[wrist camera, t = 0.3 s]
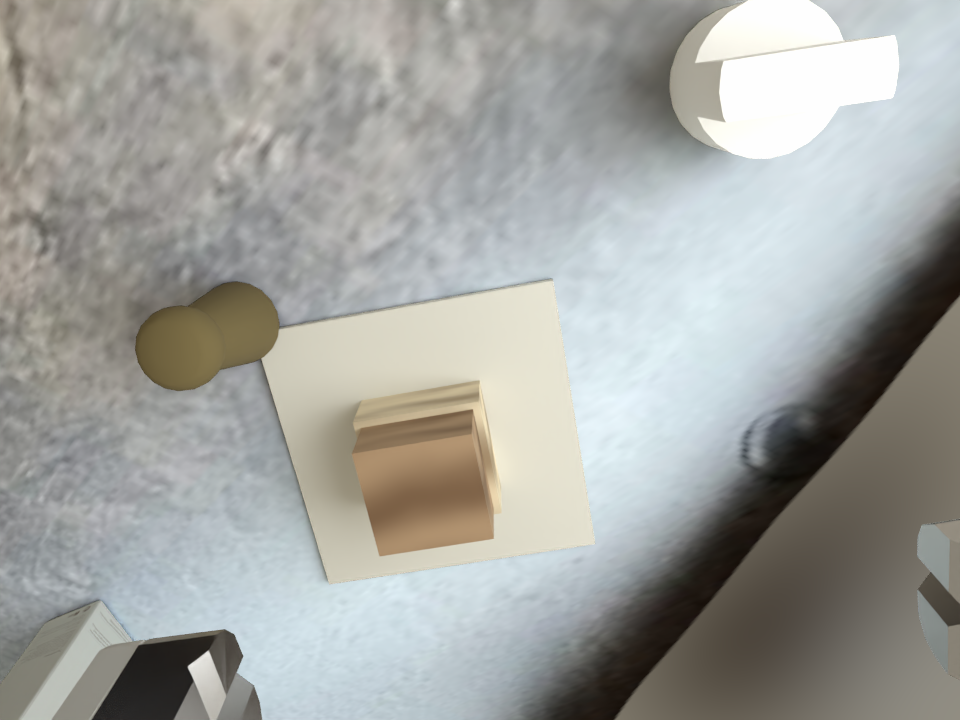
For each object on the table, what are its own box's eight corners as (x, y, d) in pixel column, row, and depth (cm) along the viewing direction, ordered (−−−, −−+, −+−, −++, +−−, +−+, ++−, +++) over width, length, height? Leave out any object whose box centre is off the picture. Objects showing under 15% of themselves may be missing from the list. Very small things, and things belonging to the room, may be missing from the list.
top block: (361, 427, 55) (351, 453, 51) (472, 409, 54) (471, 434, 50) (386, 524, 57) (379, 556, 54) (493, 508, 57) (493, 538, 53)
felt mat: (256, 331, 57) (253, 334, 57) (552, 278, 56) (553, 280, 55) (330, 579, 65) (329, 584, 64) (594, 539, 63) (595, 543, 62)
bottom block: (361, 400, 58) (352, 422, 55) (479, 380, 58) (478, 401, 54) (388, 503, 61) (381, 531, 58) (501, 486, 61) (501, 513, 57)
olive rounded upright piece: (250, 379, 57) (182, 423, 47) (183, 330, 57) (99, 362, 46) (295, 316, 56) (236, 345, 45) (227, 264, 56) (151, 282, 45)
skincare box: (47, 619, 66) (-72, 764, 52) (106, 595, 65) (1, 735, 51) (102, 690, 69) (3, 846, 55) (160, 668, 68) (74, 821, 54)
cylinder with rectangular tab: (808, -8, 49) (902, -32, 38) (808, 139, 52) (895, 157, 41) (664, 15, 50) (715, -3, 38) (673, 159, 53) (722, 181, 41)
